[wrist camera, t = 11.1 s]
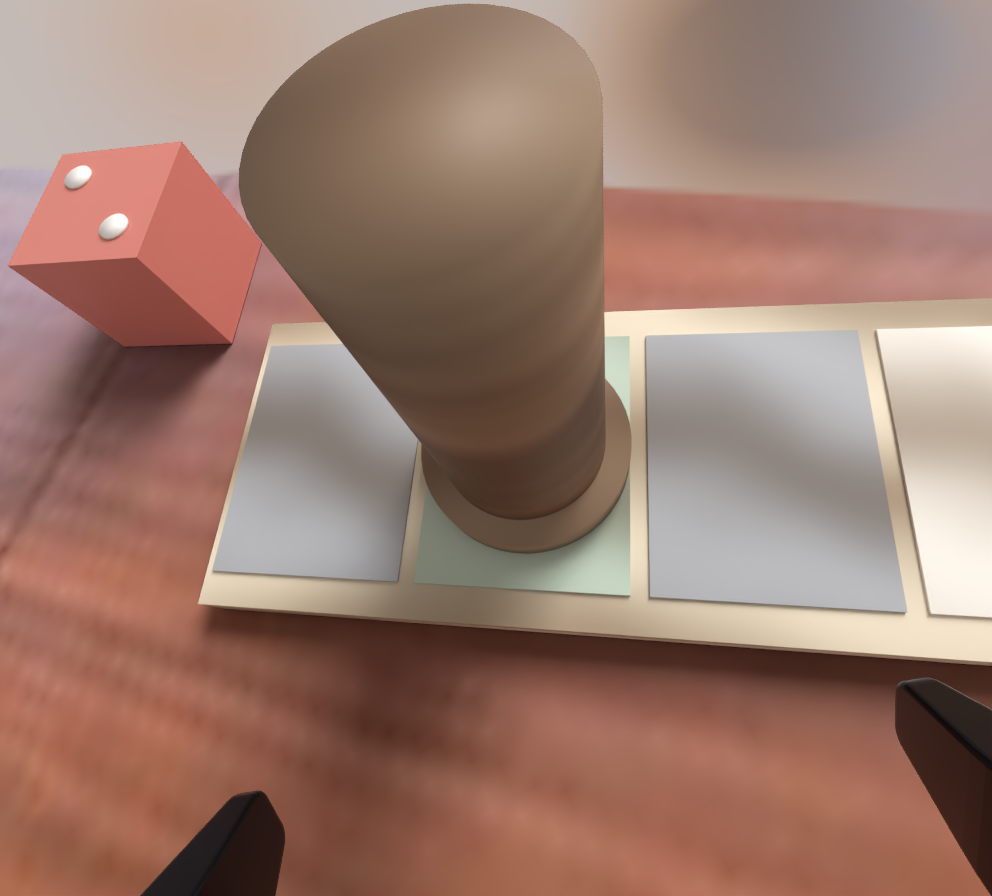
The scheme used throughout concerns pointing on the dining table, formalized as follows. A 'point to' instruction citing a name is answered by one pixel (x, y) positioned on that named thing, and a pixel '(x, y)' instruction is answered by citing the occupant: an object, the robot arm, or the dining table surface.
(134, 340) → the die
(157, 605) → the dining table surface
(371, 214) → the pawn
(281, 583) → the board
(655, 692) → the dining table surface
